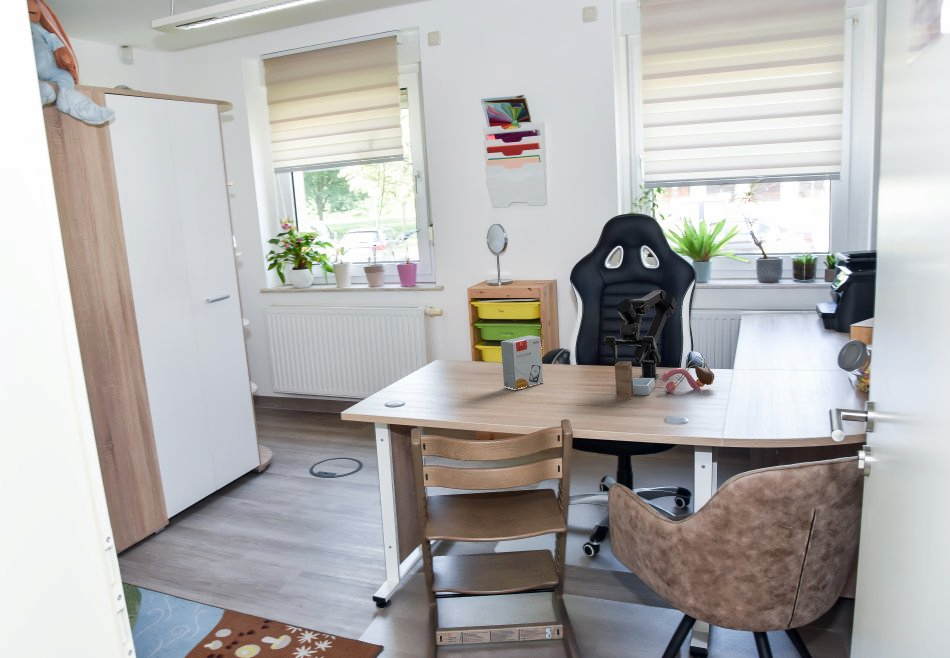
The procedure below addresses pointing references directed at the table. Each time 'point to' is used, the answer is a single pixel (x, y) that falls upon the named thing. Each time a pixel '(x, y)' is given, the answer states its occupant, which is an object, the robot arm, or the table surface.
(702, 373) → the anatomy model
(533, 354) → the hard drive box
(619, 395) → the walnut block
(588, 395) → the table surface
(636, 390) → the bin
